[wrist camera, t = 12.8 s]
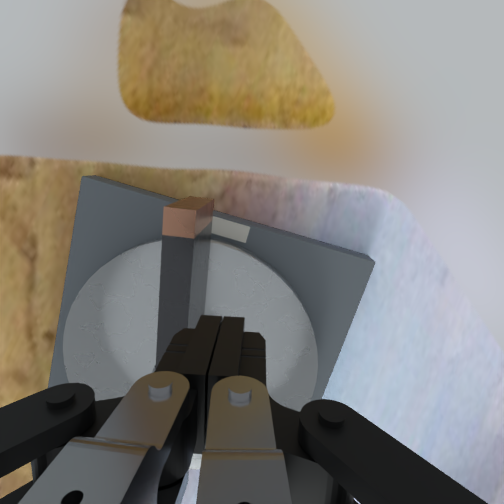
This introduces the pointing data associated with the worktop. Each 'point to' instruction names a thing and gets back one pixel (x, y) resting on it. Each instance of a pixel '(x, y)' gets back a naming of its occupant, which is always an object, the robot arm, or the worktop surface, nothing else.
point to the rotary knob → (185, 309)
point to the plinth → (227, 229)
